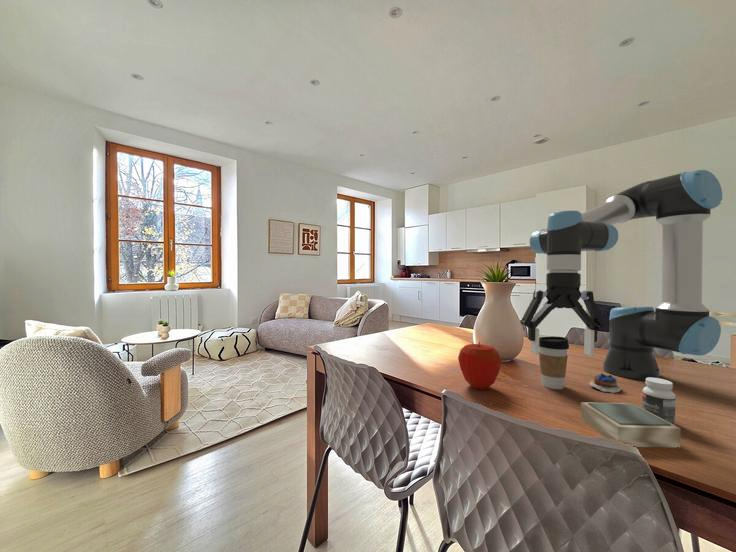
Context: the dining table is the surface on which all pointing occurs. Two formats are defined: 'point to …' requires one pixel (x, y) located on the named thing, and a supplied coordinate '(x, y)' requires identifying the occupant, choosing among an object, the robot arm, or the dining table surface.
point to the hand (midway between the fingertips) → (561, 354)
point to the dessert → (605, 383)
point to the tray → (630, 424)
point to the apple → (479, 365)
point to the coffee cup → (553, 361)
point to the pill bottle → (659, 399)
